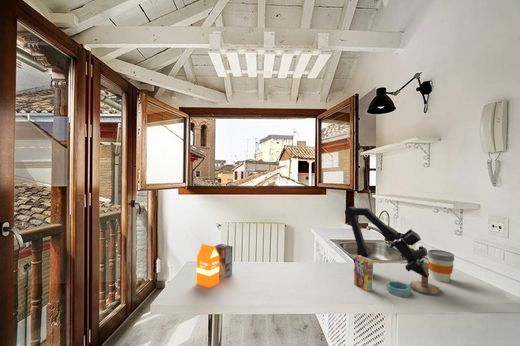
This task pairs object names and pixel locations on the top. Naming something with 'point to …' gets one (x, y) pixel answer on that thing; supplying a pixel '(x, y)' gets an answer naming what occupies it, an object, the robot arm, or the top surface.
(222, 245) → the coffee box
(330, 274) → the top surface
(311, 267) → the top surface
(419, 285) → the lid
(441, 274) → the reusable coffee cup
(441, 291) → the mat
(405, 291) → the bowl
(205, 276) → the orange juice
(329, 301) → the top surface
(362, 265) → the candy box
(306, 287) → the top surface
